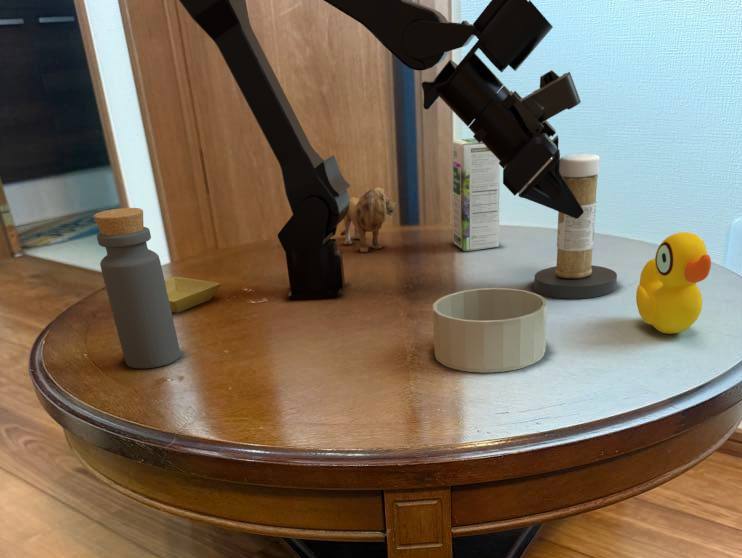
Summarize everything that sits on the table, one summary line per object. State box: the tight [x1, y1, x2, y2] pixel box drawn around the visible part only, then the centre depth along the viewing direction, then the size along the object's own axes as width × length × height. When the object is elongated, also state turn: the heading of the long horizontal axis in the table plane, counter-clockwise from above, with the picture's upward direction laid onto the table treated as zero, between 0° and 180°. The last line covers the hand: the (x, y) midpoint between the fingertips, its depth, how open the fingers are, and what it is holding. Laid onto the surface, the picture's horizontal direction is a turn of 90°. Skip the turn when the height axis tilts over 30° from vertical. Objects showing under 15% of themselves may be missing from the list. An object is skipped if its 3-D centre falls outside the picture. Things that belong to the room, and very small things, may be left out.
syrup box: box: [452, 137, 501, 252], centre depth 118 cm, size 6×6×14 cm
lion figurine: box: [339, 187, 397, 253], centre depth 123 cm, size 15×5×9 cm, turn 33°
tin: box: [432, 287, 548, 374], centre depth 81 cm, size 11×11×5 cm
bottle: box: [93, 207, 181, 369], centre depth 82 cm, size 6×6×15 cm
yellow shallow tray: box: [164, 276, 221, 314], centre depth 104 cm, size 9×9×2 cm
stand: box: [533, 264, 618, 300], centre depth 99 cm, size 10×10×2 cm
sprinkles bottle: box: [555, 153, 601, 279], centre depth 95 cm, size 5×5×14 cm
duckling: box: [635, 231, 712, 335], centre depth 81 cm, size 11×5×10 cm, turn 11°
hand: (579, 207), depth 95 cm, fingers open, 9 cm apart
